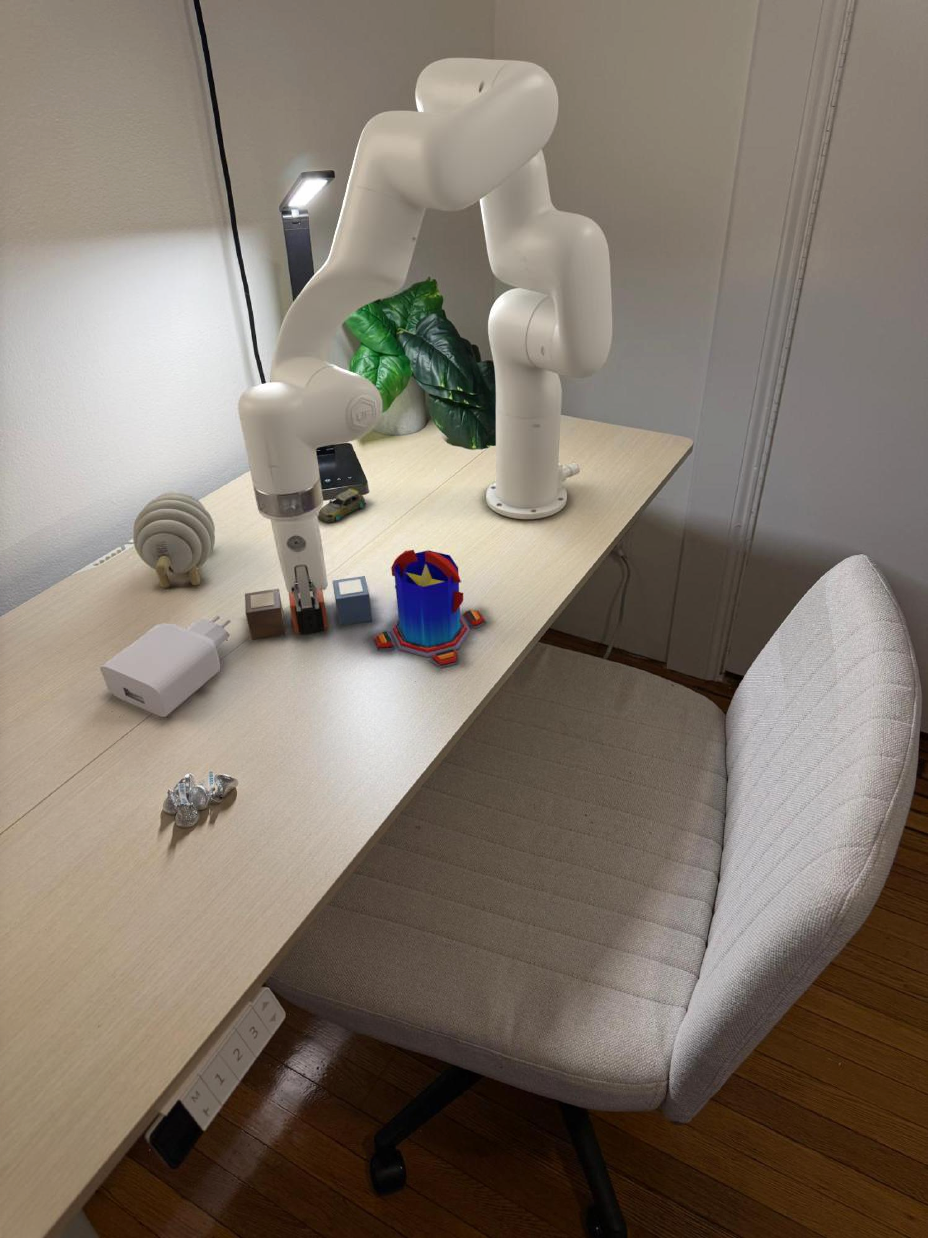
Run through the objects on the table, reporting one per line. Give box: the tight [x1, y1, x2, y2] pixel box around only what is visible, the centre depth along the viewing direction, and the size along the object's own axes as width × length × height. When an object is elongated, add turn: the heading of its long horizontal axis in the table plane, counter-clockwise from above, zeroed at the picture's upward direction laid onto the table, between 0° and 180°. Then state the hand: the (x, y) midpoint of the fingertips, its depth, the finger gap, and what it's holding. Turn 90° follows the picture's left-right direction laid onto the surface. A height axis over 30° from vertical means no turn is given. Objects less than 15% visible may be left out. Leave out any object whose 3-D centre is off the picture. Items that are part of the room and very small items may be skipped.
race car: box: [317, 487, 367, 524], centre depth 126 cm, size 4×8×2 cm, turn 138°
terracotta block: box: [288, 589, 329, 634], centre depth 104 cm, size 4×4×4 cm
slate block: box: [332, 575, 373, 626], centre depth 105 cm, size 4×4×4 cm
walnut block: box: [244, 588, 287, 640], centre depth 103 cm, size 4×4×4 cm
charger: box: [99, 615, 231, 718], centre depth 97 cm, size 5×9×15 cm
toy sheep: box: [132, 491, 216, 589], centre depth 111 cm, size 11×17×11 cm, turn 10°
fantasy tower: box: [372, 549, 488, 669], centre depth 99 cm, size 12×12×12 cm
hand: (310, 618), depth 105 cm, fingers closed on terracotta block, 4 cm apart
